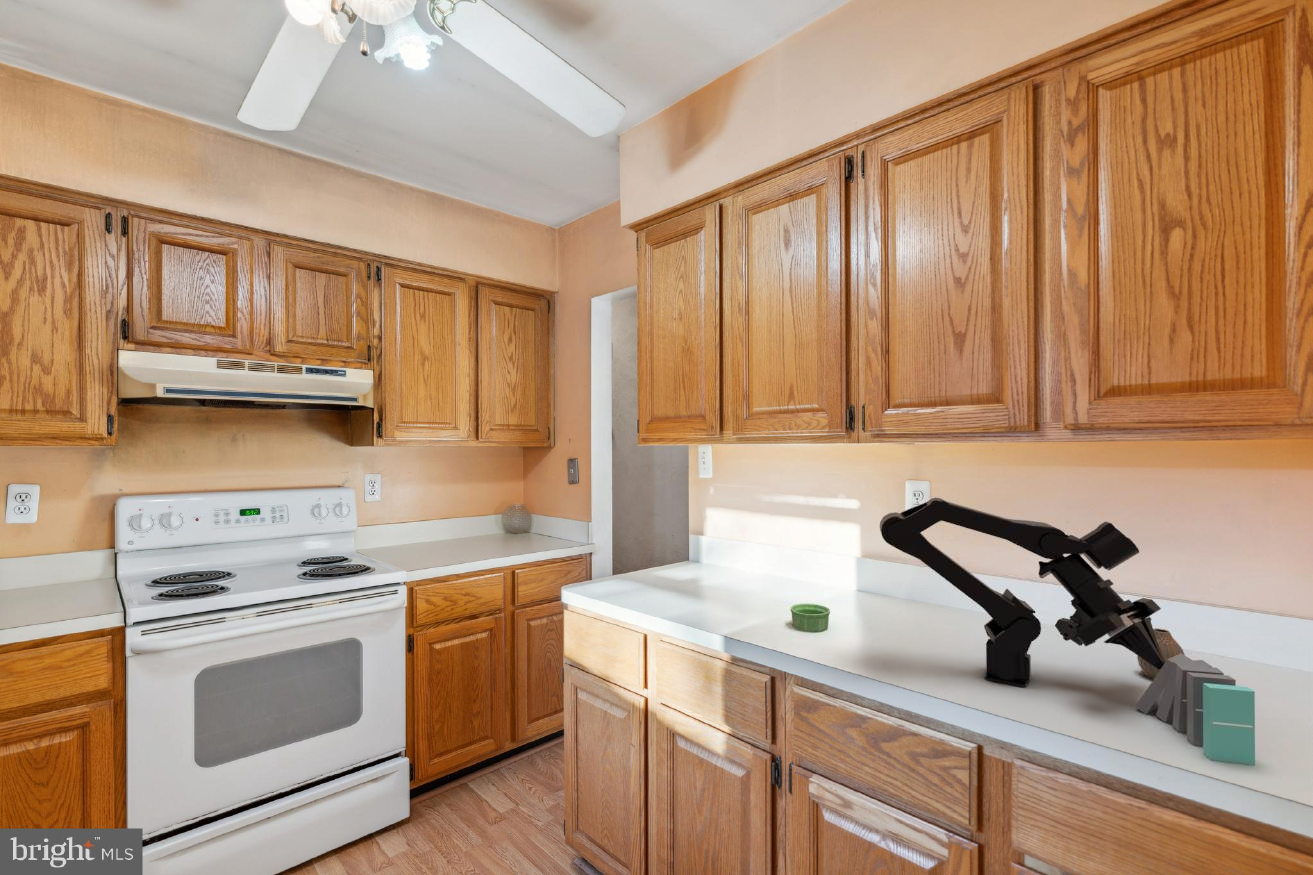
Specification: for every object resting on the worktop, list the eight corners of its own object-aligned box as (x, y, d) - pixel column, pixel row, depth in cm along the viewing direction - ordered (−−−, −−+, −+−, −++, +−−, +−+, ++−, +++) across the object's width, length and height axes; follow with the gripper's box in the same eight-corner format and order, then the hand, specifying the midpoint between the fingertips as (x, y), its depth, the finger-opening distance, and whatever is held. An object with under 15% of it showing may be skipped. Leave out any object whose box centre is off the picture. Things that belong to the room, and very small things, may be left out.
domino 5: (1203, 754, 85) (1202, 682, 85) (1247, 758, 83) (1246, 686, 83) (1210, 760, 83) (1209, 687, 83) (1255, 765, 82) (1254, 691, 82)
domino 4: (1187, 740, 89) (1186, 672, 89) (1228, 744, 87) (1228, 675, 87) (1193, 745, 87) (1192, 676, 87) (1236, 750, 86) (1235, 679, 86)
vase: (1163, 670, 114) (1163, 623, 114) (1197, 685, 107) (1196, 636, 107) (1127, 671, 114) (1127, 624, 114) (1159, 686, 107) (1159, 637, 107)
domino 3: (1172, 725, 92) (1176, 664, 91) (1212, 730, 91) (1217, 667, 90) (1178, 732, 91) (1182, 669, 90) (1218, 736, 89) (1223, 673, 88)
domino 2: (1155, 715, 95) (1173, 661, 92) (1184, 713, 96) (1202, 659, 93) (1165, 722, 94) (1183, 668, 91) (1193, 720, 94) (1212, 666, 91)
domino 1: (1135, 706, 98) (1167, 659, 94) (1149, 699, 100) (1181, 653, 97) (1146, 714, 97) (1179, 666, 93) (1160, 706, 99) (1192, 660, 95)
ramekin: (782, 625, 144) (782, 606, 144) (811, 619, 148) (811, 601, 148) (808, 636, 136) (808, 616, 136) (838, 629, 140) (838, 610, 140)
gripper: (1073, 601, 116) (1143, 677, 107) (1023, 618, 106) (1096, 704, 97) (1122, 568, 109) (1201, 646, 100) (1073, 583, 99) (1156, 672, 90)
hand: (1163, 668), depth 97 cm, fingers closed
